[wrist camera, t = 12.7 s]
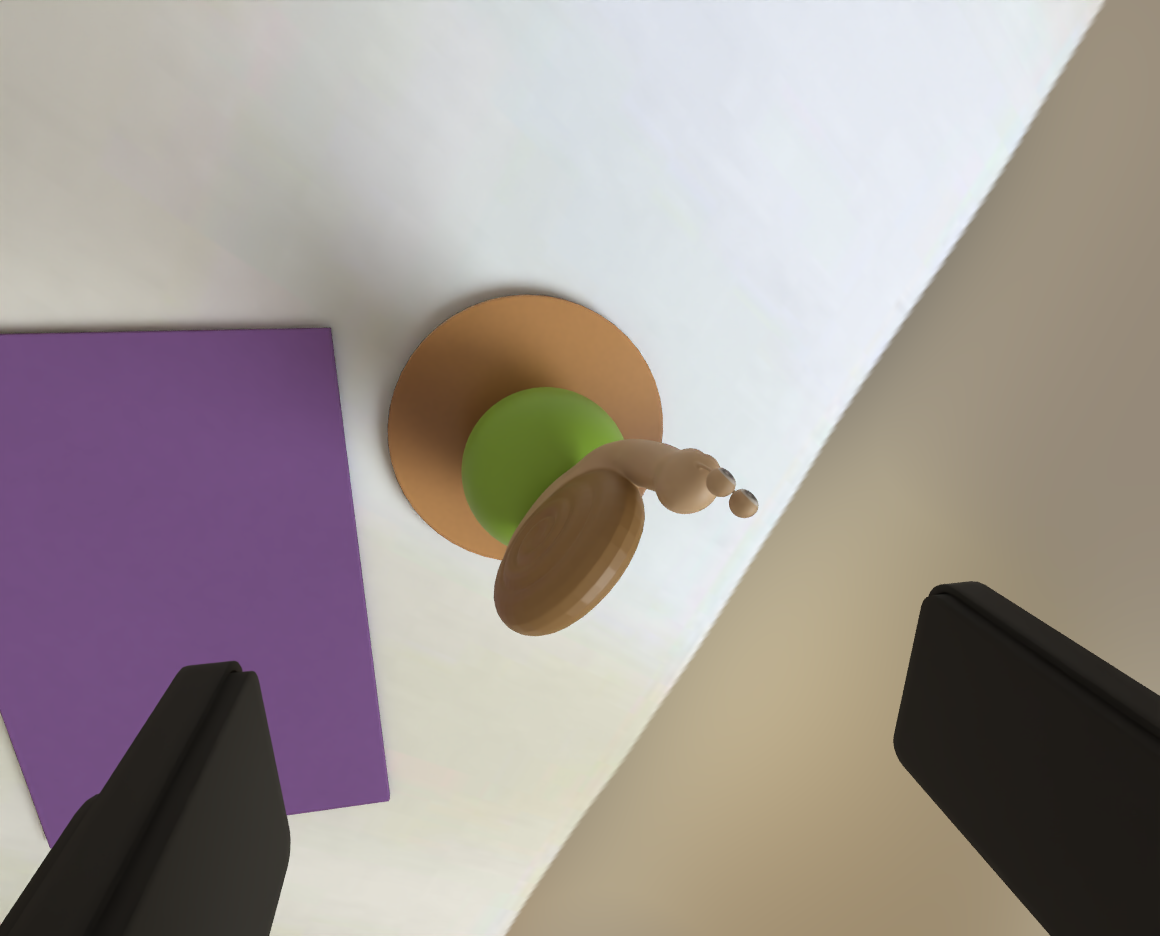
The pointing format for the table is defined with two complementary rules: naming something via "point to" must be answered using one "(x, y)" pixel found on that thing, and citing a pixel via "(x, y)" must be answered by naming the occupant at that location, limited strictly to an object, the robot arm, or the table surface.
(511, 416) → the snail figurine
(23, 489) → the cloth
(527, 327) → the coaster
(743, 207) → the table surface
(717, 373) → the table surface
